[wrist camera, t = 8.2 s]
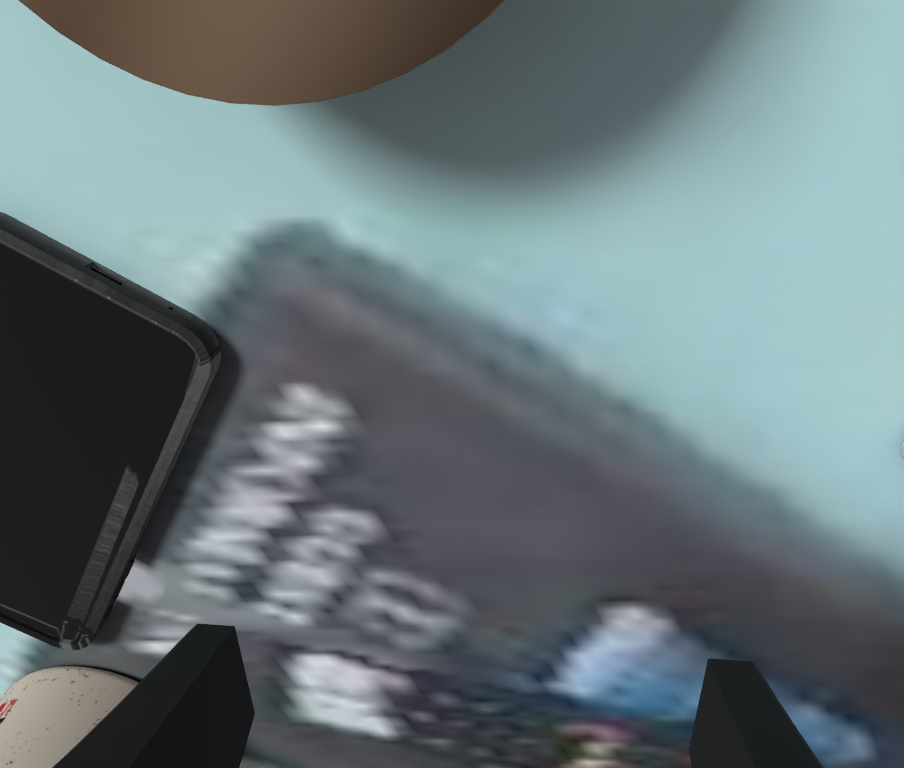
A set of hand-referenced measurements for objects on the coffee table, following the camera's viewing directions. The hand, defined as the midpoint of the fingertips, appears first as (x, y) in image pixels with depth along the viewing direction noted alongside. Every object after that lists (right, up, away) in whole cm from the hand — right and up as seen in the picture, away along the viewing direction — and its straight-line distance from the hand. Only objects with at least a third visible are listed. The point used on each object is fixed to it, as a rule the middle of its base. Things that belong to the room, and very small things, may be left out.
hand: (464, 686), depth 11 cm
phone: (-13, +3, +12) cm, 18 cm away
